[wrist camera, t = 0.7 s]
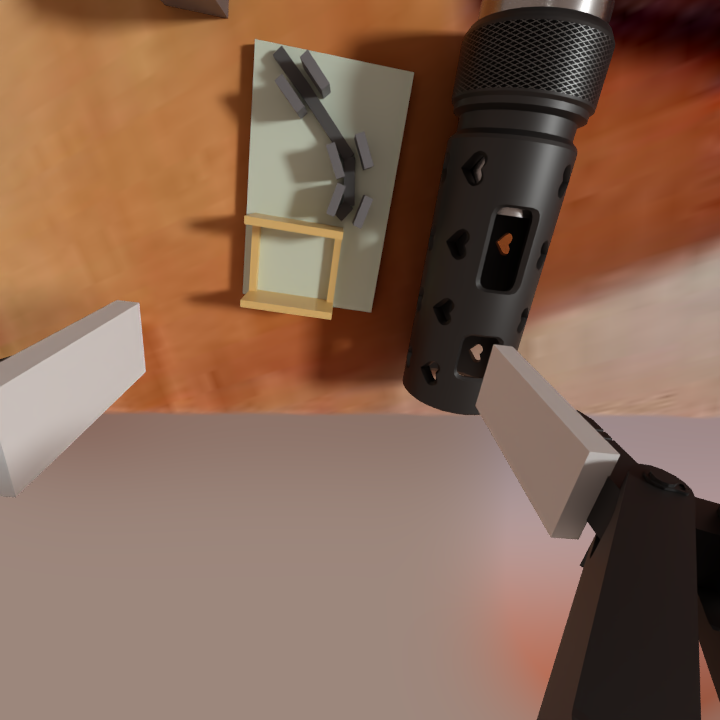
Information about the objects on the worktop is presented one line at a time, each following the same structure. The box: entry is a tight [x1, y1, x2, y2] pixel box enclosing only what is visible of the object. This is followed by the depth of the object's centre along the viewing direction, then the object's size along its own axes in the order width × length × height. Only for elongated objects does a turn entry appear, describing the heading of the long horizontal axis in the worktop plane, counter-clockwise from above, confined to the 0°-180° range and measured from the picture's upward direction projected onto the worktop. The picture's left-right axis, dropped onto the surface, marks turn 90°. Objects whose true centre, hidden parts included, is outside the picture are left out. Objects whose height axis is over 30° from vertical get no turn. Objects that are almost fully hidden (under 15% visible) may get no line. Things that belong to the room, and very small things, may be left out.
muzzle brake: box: [403, 0, 615, 415], centre depth 31 cm, size 10×28×10 cm, turn 173°
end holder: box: [240, 213, 344, 320], centre depth 34 cm, size 7×8×4 cm
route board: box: [243, 39, 414, 312], centre depth 33 cm, size 19×12×4 cm, turn 171°
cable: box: [273, 46, 355, 222], centre depth 32 cm, size 13×3×1 cm, turn 21°
